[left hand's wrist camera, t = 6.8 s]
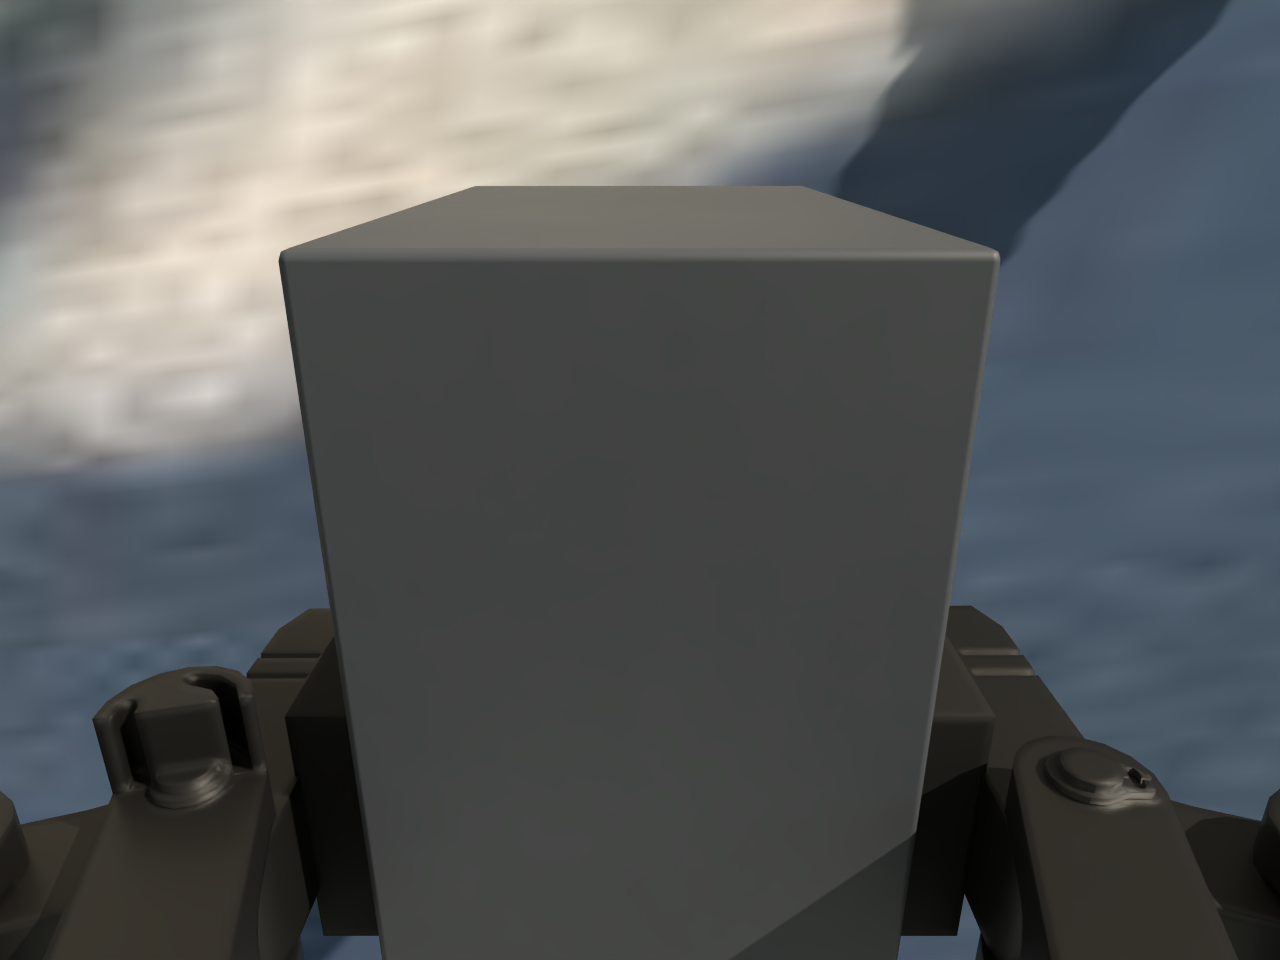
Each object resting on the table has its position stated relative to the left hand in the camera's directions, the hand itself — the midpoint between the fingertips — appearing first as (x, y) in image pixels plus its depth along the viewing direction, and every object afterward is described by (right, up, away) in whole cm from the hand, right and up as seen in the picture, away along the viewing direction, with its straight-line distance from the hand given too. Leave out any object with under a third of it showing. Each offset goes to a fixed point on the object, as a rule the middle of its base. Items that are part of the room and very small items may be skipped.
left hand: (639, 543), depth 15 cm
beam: (0, -21, +9) cm, 23 cm away
